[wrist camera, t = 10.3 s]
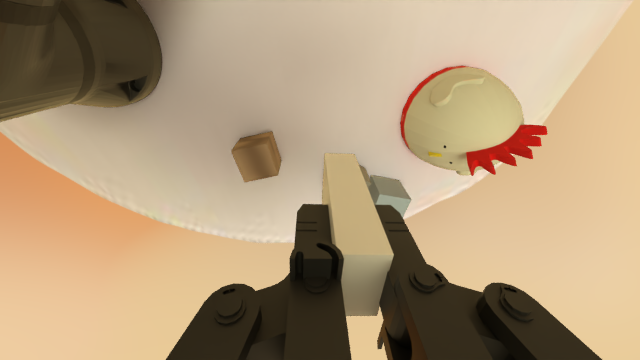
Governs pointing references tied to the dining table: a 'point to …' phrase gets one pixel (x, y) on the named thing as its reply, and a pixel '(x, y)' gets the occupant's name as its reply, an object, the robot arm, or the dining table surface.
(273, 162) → the walnut block
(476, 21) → the dining table surface
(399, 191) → the slate block
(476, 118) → the kitchen timer
